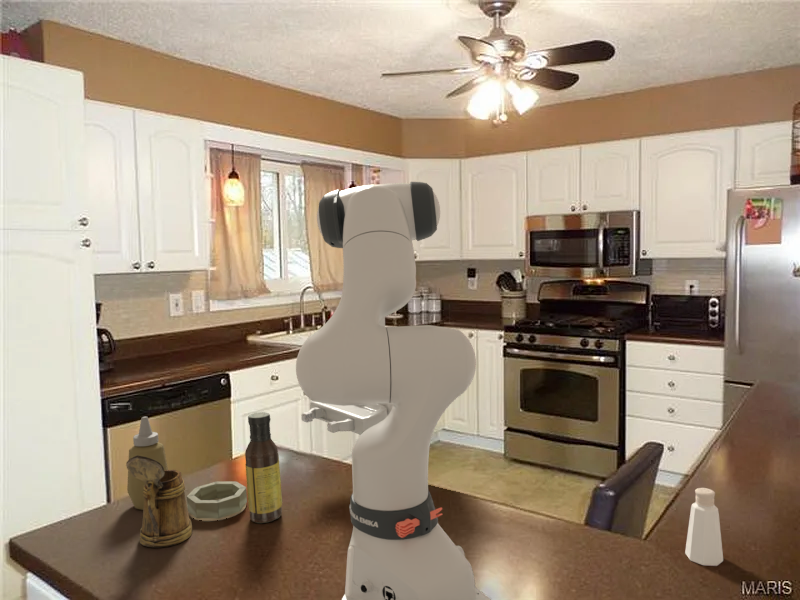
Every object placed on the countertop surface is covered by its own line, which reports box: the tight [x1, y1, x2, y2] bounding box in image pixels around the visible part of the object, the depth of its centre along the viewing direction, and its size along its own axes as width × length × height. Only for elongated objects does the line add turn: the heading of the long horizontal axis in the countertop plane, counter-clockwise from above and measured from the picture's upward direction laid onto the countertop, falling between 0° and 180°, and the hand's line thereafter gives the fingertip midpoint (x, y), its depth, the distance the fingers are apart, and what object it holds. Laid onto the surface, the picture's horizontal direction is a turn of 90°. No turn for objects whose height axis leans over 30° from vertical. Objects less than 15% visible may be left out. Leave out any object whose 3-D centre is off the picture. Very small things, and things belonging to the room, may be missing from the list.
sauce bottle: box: [244, 411, 283, 524], centre depth 113 cm, size 6×6×20 cm
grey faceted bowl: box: [186, 480, 248, 522], centre depth 118 cm, size 11×11×4 cm
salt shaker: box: [684, 487, 724, 567], centre depth 94 cm, size 5×5×11 cm
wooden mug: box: [125, 455, 193, 549], centre depth 104 cm, size 9×14×18 cm, turn 178°
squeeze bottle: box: [126, 416, 169, 511], centre depth 120 cm, size 8×8×18 cm
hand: (315, 422), depth 121 cm, fingers open, 8 cm apart
